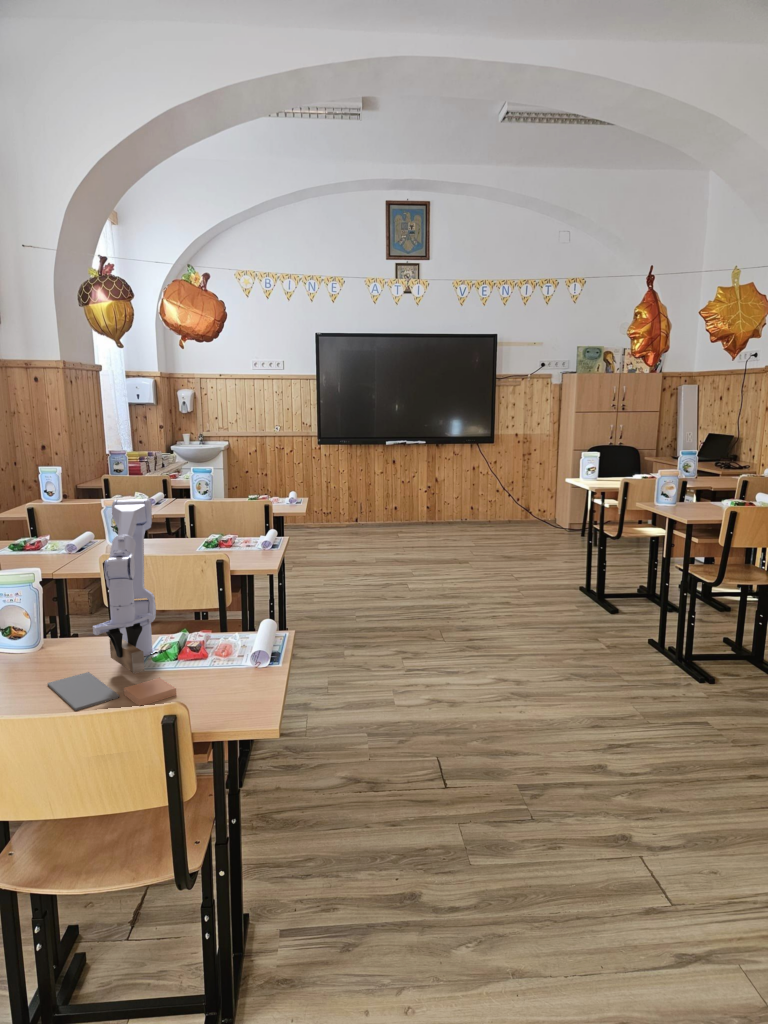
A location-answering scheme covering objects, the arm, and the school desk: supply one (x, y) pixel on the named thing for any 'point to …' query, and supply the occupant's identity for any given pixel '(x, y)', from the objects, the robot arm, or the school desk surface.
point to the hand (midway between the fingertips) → (125, 654)
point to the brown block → (129, 657)
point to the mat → (82, 691)
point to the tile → (149, 691)
